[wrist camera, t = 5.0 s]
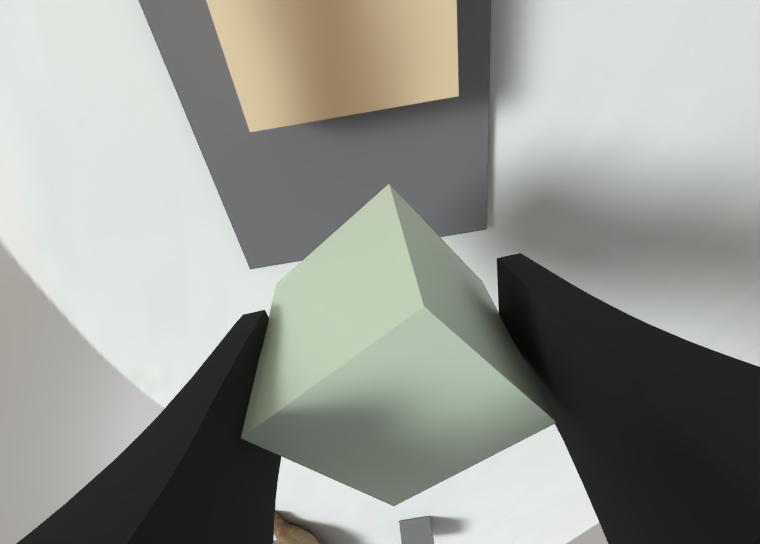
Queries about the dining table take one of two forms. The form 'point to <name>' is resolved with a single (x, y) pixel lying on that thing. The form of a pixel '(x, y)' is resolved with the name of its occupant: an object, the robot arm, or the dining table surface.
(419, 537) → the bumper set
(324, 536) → the dining table surface
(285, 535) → the figurine
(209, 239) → the dining table surface
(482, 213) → the mat
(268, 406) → the sage cube
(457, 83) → the oak slab
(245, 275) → the dining table surface
